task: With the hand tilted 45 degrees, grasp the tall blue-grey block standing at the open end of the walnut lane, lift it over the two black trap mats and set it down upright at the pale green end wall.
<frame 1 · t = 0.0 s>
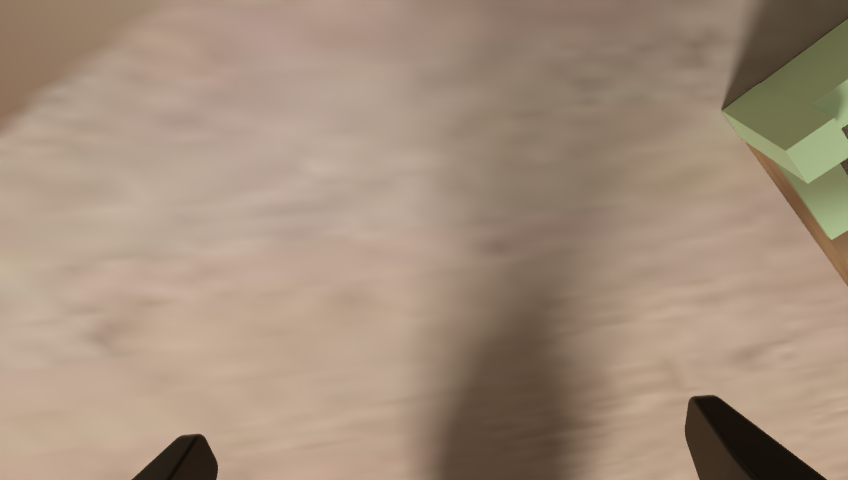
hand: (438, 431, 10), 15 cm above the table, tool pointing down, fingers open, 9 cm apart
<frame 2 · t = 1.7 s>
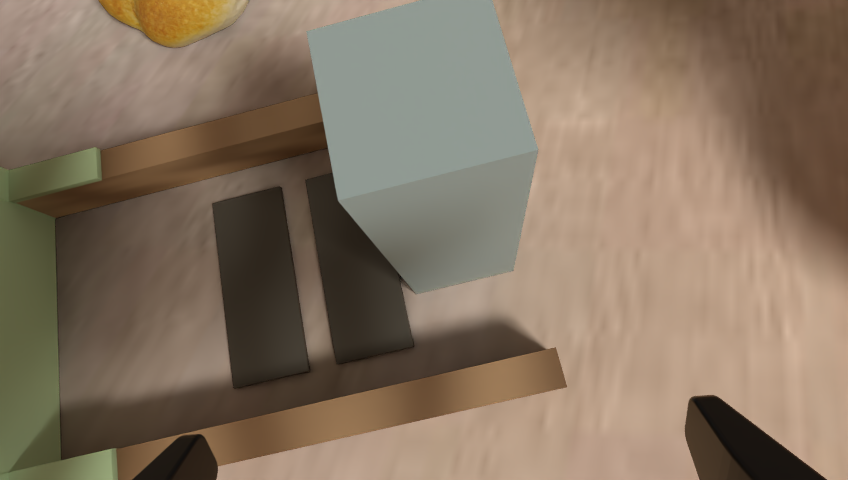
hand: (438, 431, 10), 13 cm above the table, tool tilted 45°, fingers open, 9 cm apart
green end wall: (43, 336, 26), on the table
walnut lane: (304, 272, 25), on the table
blue-grey block: (453, 236, 25), on the table
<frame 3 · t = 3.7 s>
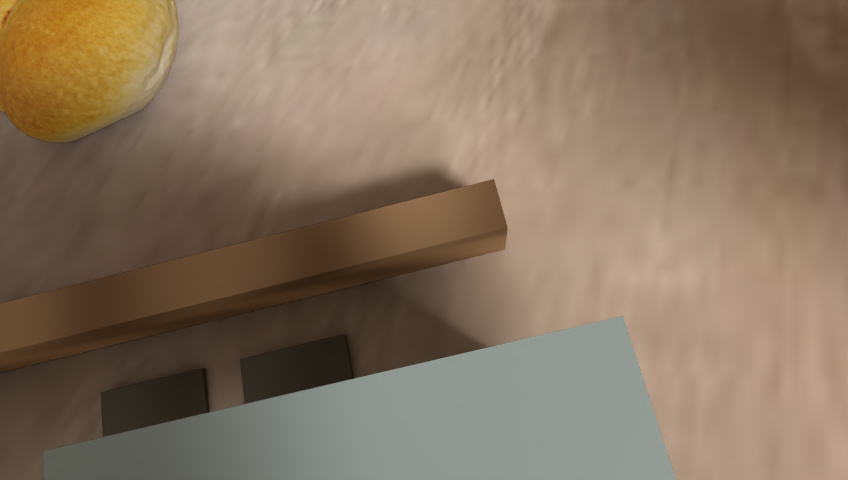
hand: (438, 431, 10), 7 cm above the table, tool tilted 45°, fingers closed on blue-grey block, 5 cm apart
bread roll: (87, 53, 22), on the table
blue-grey block: (464, 462, 16), on the table, touching gripper
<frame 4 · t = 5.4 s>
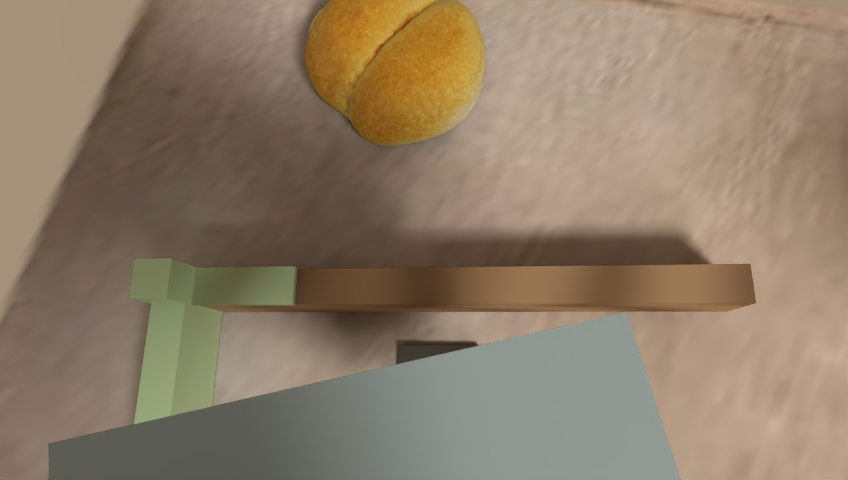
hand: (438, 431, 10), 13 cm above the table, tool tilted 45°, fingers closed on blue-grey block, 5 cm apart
green end wall: (191, 447, 24), on the table
bread roll: (399, 73, 28), on the table
walnut lane: (491, 456, 22), on the table
blue-grey block: (465, 460, 16), point 7 cm above the table, touching gripper
when the fingers open (8 cm above the table, at t = 7.3 s): blue-grey block drops 1 cm, on the table.
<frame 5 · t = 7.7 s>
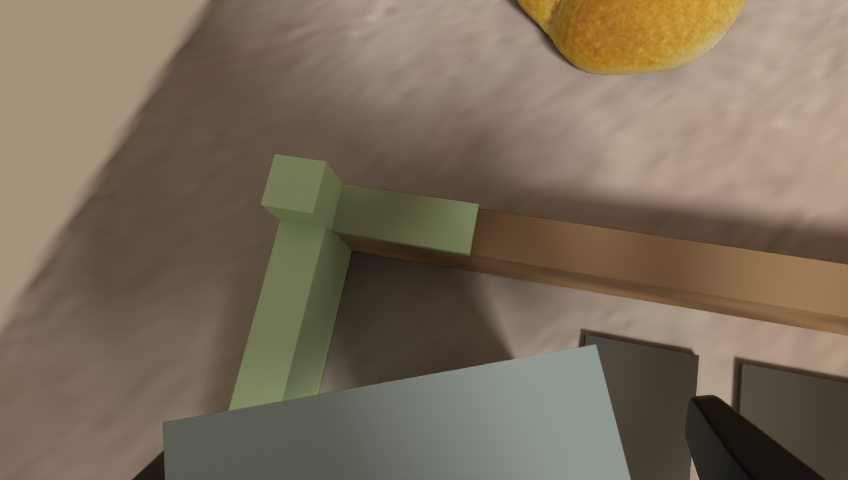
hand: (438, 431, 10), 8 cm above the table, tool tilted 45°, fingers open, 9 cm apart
green end wall: (291, 415, 18), on the table
blue-grey block: (467, 454, 17), on the table
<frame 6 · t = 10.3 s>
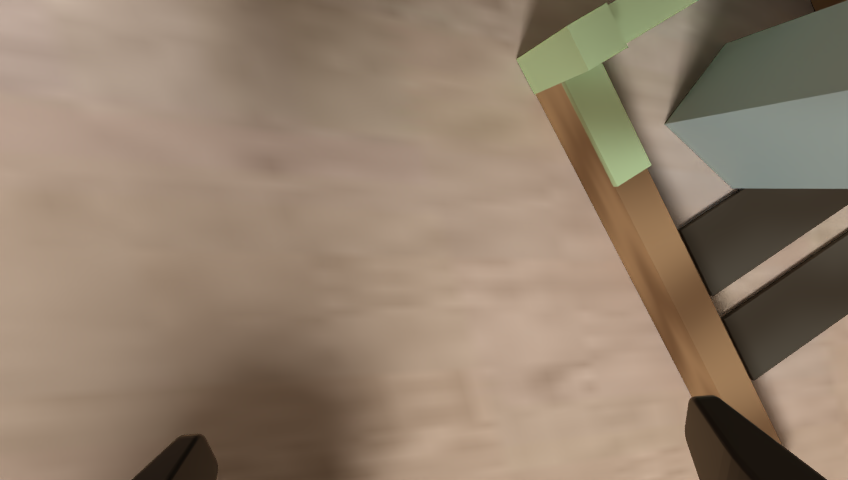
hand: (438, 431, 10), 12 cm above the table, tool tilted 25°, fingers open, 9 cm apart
walnut lane: (789, 252, 25), on the table
blue-grey block: (728, 117, 24), on the table
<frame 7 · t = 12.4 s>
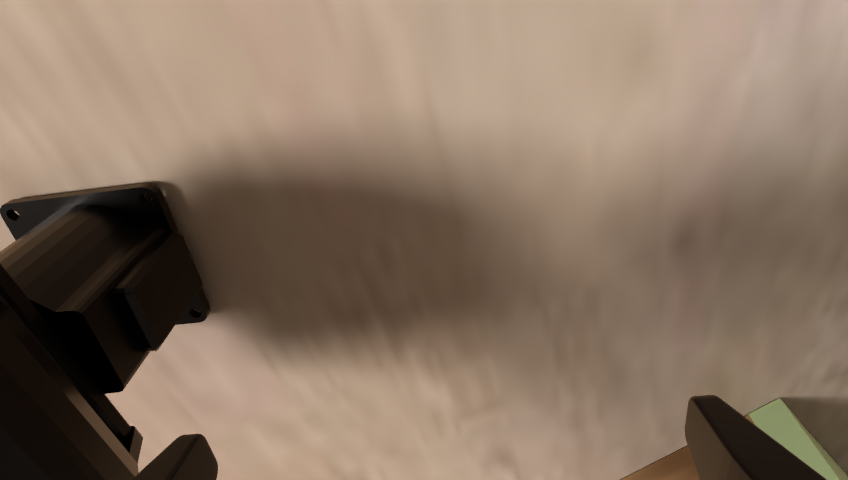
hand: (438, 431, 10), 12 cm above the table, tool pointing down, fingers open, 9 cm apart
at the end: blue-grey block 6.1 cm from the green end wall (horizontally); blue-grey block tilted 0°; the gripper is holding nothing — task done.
